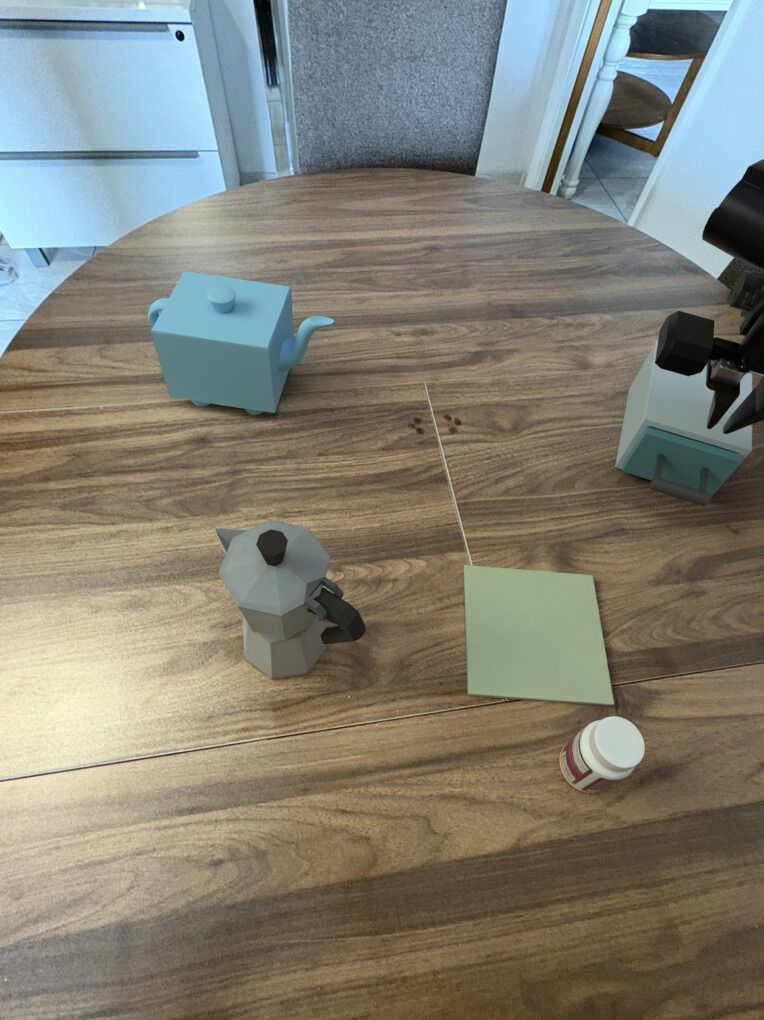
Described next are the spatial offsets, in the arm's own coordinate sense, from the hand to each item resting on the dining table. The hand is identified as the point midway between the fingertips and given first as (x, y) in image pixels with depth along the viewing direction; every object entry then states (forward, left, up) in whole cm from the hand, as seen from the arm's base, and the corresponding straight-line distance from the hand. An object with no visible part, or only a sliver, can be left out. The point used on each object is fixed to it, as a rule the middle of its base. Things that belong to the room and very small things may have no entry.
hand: (716, 428), depth 63 cm
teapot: (+53, +2, -13) cm, 55 cm away
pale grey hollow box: (0, -11, -13) cm, 17 cm away
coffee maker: (+33, +32, -13) cm, 48 cm away
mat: (+11, +22, -13) cm, 28 cm away
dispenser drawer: (0, -6, -12) cm, 14 cm away
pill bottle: (+4, +33, -13) cm, 36 cm away
